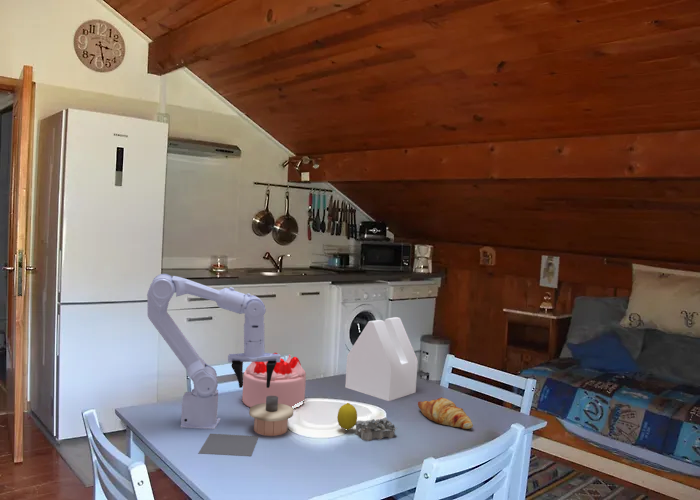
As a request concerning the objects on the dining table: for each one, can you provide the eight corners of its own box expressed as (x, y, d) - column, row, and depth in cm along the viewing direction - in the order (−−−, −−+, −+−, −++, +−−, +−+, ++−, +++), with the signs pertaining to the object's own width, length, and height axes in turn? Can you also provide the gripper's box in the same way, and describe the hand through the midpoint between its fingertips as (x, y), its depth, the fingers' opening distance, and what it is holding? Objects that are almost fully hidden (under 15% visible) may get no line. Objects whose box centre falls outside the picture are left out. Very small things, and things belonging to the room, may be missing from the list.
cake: (257, 389, 202) (260, 347, 201) (313, 397, 197) (316, 354, 196) (231, 406, 184) (233, 360, 183) (292, 416, 178) (294, 369, 177)
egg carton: (362, 442, 162) (363, 427, 161) (352, 432, 169) (352, 418, 168) (398, 438, 166) (398, 424, 165) (386, 428, 173) (386, 415, 172)
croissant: (476, 441, 176) (486, 415, 178) (459, 431, 170) (469, 405, 172) (422, 418, 192) (431, 394, 194) (404, 408, 186) (414, 384, 188)
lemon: (354, 435, 165) (356, 407, 165) (334, 433, 166) (336, 404, 166) (357, 428, 171) (359, 401, 170) (338, 426, 172) (340, 398, 171)
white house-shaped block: (345, 387, 210) (349, 317, 209) (372, 380, 222) (376, 313, 220) (388, 401, 198) (393, 326, 196) (415, 392, 209) (420, 321, 208)
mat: (198, 454, 147) (198, 453, 147) (210, 435, 160) (210, 433, 160) (251, 457, 147) (251, 456, 147) (258, 437, 160) (258, 436, 160)
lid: (244, 419, 159) (245, 402, 159) (254, 404, 171) (255, 389, 171) (289, 422, 158) (290, 406, 158) (296, 408, 170) (297, 392, 170)
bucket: (251, 435, 161) (252, 417, 160) (256, 423, 170) (257, 406, 169) (285, 437, 161) (286, 419, 161) (288, 425, 170) (289, 408, 170)
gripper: (225, 342, 165) (226, 391, 166) (278, 342, 165) (278, 391, 166) (230, 337, 172) (231, 383, 173) (281, 337, 172) (281, 383, 173)
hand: (254, 386), depth 170 cm, fingers open, 7 cm apart
